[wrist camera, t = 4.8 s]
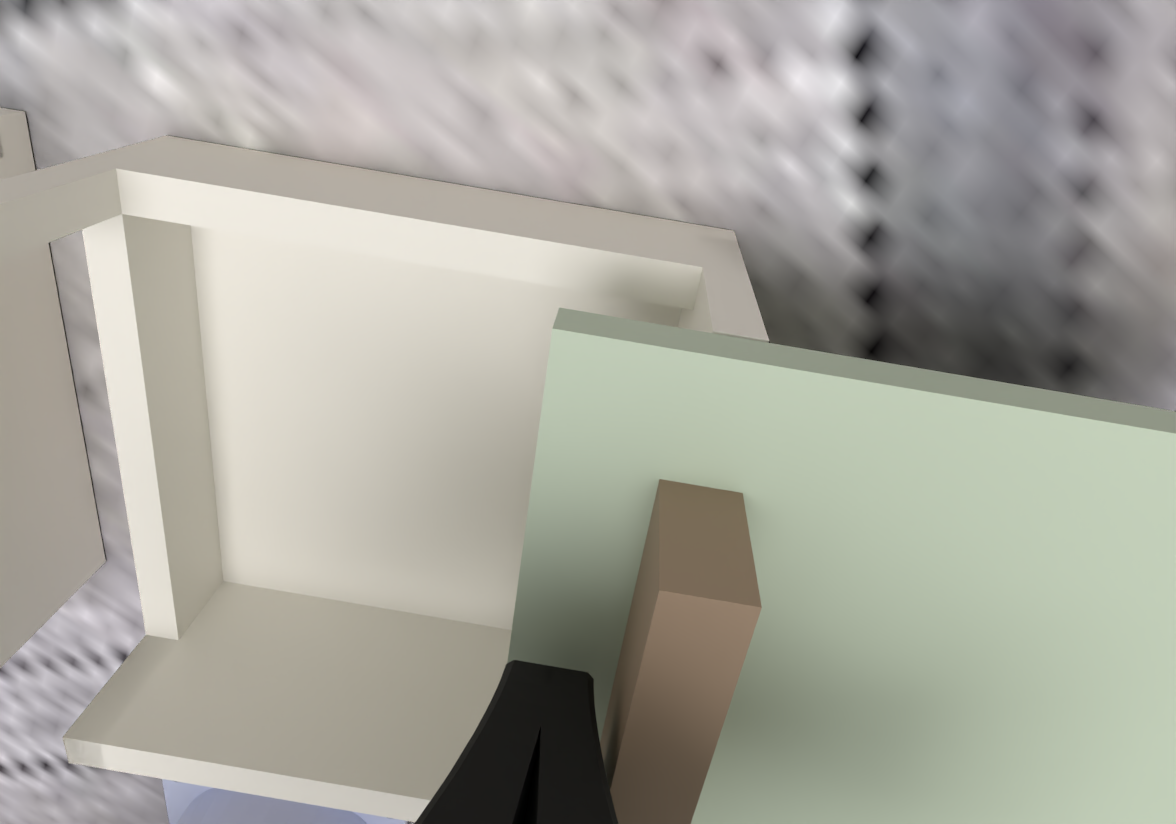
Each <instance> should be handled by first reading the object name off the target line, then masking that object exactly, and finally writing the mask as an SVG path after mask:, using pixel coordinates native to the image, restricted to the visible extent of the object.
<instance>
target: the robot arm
mask: <svg viewBox="0 0 1176 824" xmlns="http://www.w3.org/2000/svg"><path fill="white" fill-rule="evenodd" d="M162 783H163V789H164V795H165V801H166V807H167V813H168V819H169V824H408V821H405V820H399V819H393V818H387V817H381V816H376V815H370V814H364V813H358V812H352V811H346V810H341V809H335V808H329V807H323V806H317V805H311V804H306V803H300V802H294V801H288V800H282V799H276V798H271V797H265V796H259V795H253V794H247V793H241V792H236V791H230V790H224V789H218V788H212V787H206V786H201V785H195V784H189V783H183V782H177V781H171V780H166V779H162ZM415 824H618V820H617V817H616V813H615V809H614V805H613V801H612V796H611V792H610V788H609V784H608V780H607V776H606V771H605V766H604V762H603V757H602V751H601V746H600V740H599V734H598V728H597V720H596V712H595V702H594V679H593V678H592V676H591V675H590V674H589V673H588V672H584V671H578V670H572V669H566V668H560V667H554V666H548V665H542V664H536V663H530V662H525V661H519V660H513V661H511V662H509V663H507V664H506V666H505V669H504V671H503V674H502V677H501V680H500V682H499V684H498V687H497V689H496V691H495V693H494V695H493V698H492V700H491V702H490V704H489V706H488V708H487V710H486V711H485V713H484V715H483V717H482V719H481V721H480V723H479V724H478V726H477V728H476V730H475V732H474V733H473V735H472V737H471V738H470V740H469V742H468V743H467V745H466V747H465V748H464V750H463V751H462V753H461V755H460V756H459V758H458V760H457V761H456V763H455V765H454V766H453V768H452V770H451V771H450V773H449V774H448V776H447V777H446V779H445V780H444V782H443V783H442V785H441V786H440V788H439V789H438V791H437V792H436V793H435V795H434V796H433V798H432V799H431V801H430V802H429V803H428V805H427V806H426V808H425V809H424V811H423V812H422V813H421V815H420V816H419V818H418V819H417V821H416V822H415Z"/></svg>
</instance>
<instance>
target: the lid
mask: <svg viewBox="0 0 1176 824" xmlns="http://www.w3.org/2000/svg"><path fill="white" fill-rule="evenodd" d="M513 660H519V661H525V662H530V663H536V664H542V665H548V666H554V667H560V668H566V669H572V670H578V671H584V672H588V673H589V674H590V675H591V676H592V678H593V679H594V702H595V712H596V720H597V728H598V734H599V740H600V746H601V751H602V757H603V762H604V766H605V771H606V776H607V780H608V784H609V788H610V792H611V796H612V801H613V805H614V809H615V813H616V817H617V820H618V824H1176V411H1170V410H1165V409H1159V408H1153V407H1147V406H1141V405H1135V404H1129V403H1123V402H1117V401H1111V400H1105V399H1099V398H1093V397H1087V396H1081V395H1076V394H1070V393H1064V392H1058V391H1052V390H1046V389H1040V388H1034V387H1028V386H1022V385H1016V384H1010V383H1004V382H998V381H992V380H987V379H981V378H975V377H969V376H963V375H957V374H951V373H945V372H939V371H933V370H927V369H921V368H915V367H909V366H903V365H898V364H892V363H886V362H880V361H874V360H868V359H862V358H856V357H850V356H844V355H838V354H832V353H826V352H820V351H815V350H809V349H803V348H797V347H791V346H785V345H779V344H773V343H767V342H761V341H755V340H749V339H743V338H737V337H731V336H726V335H720V334H714V333H708V332H702V331H696V330H690V329H684V328H678V327H672V326H666V325H660V324H654V323H648V322H642V321H637V320H631V319H625V318H619V317H613V316H607V315H601V314H595V313H589V312H583V311H577V310H571V309H565V308H559V310H558V313H557V316H556V319H555V322H554V325H553V328H552V335H551V342H550V350H549V357H548V364H547V372H546V379H545V387H544V394H543V402H542V409H541V416H540V424H539V431H538V439H537V446H536V453H535V461H534V468H533V476H532V483H531V491H530V498H529V505H528V513H527V520H526V528H525V535H524V542H523V550H522V557H521V565H520V572H519V579H518V587H517V594H516V602H515V609H514V617H513V624H512V631H511V639H510V646H509V654H508V661H507V663H509V662H511V661H513Z"/></svg>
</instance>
